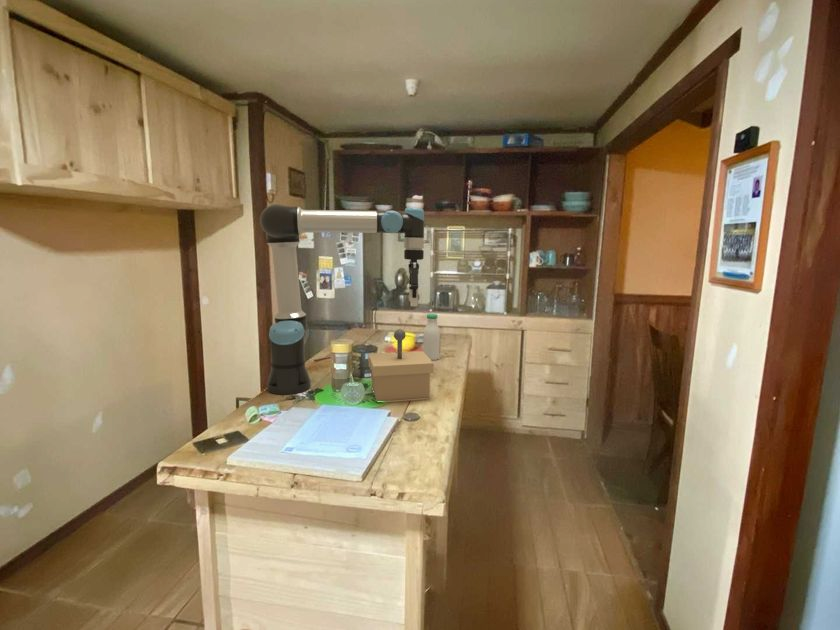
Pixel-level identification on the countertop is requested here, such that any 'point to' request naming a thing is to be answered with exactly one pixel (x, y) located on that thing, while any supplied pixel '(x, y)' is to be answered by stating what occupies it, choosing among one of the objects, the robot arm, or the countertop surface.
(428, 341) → the milk bottle
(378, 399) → the carton
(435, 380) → the countertop surface
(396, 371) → the carton lid
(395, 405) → the countertop surface
